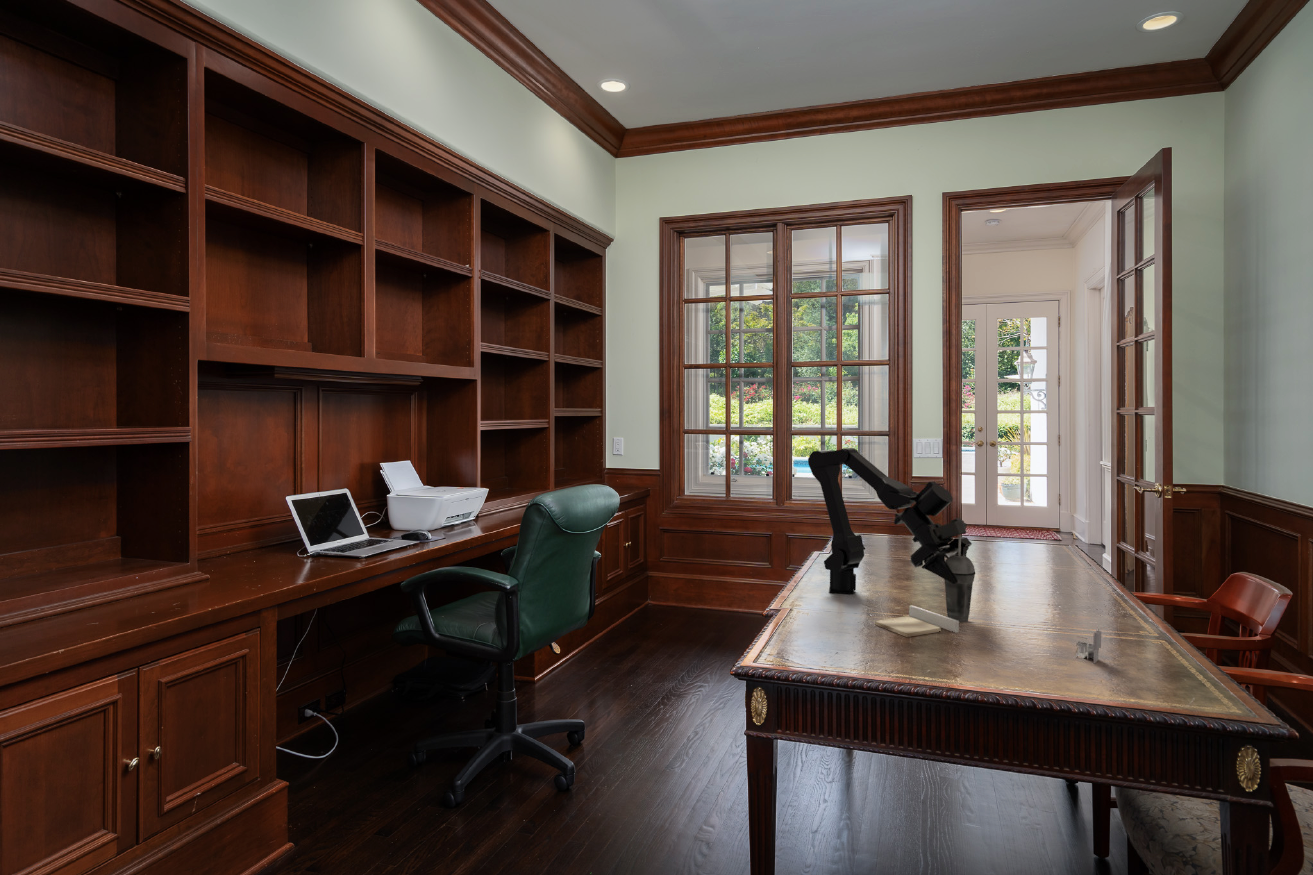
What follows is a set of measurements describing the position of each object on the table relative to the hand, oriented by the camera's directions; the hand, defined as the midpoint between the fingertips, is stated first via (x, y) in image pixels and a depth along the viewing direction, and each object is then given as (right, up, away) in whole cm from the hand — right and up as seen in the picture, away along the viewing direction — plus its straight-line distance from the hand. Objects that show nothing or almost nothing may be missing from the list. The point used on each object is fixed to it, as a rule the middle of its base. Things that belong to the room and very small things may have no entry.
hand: (964, 580), depth 168 cm
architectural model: (+9, -12, -26) cm, 30 cm away
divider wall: (-8, -10, -2) cm, 13 cm away
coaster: (-15, -10, -5) cm, 19 cm away
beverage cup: (-1, -10, +1) cm, 10 cm away
